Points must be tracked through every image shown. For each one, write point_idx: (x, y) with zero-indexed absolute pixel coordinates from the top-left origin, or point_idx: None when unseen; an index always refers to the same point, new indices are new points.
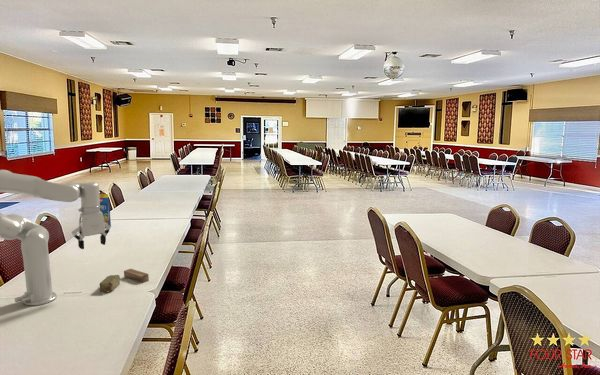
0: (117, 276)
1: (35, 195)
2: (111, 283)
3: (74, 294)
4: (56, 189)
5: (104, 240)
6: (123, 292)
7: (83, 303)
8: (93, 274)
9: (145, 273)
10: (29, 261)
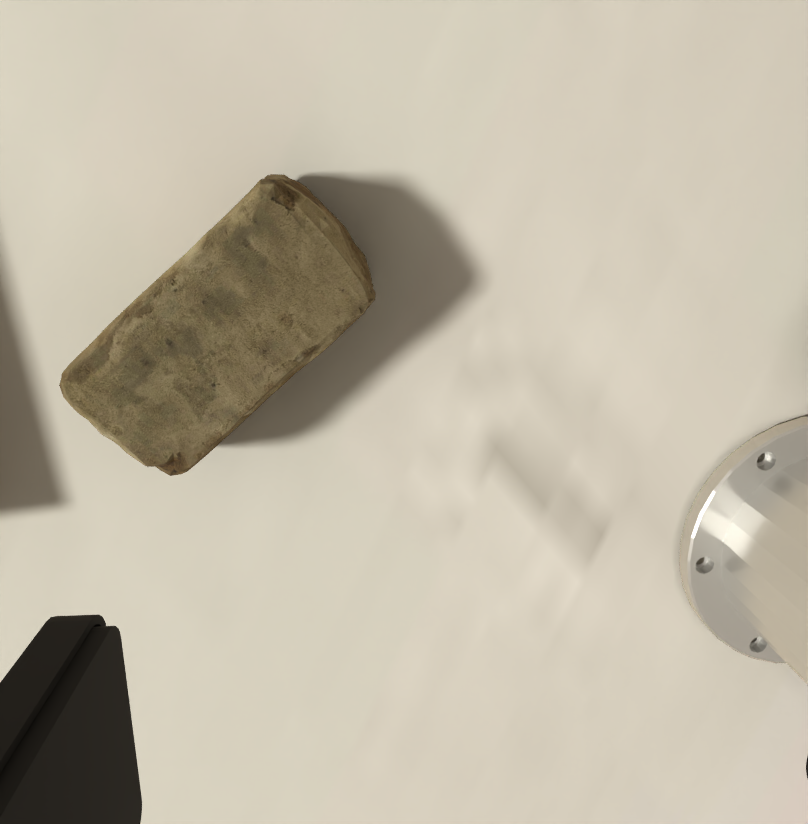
0: (99, 349)
1: None
2: (262, 182)
3: (563, 436)
4: None
5: (2, 727)
6: (181, 57)
7: (628, 123)
8: (197, 802)
9: None
10: None
